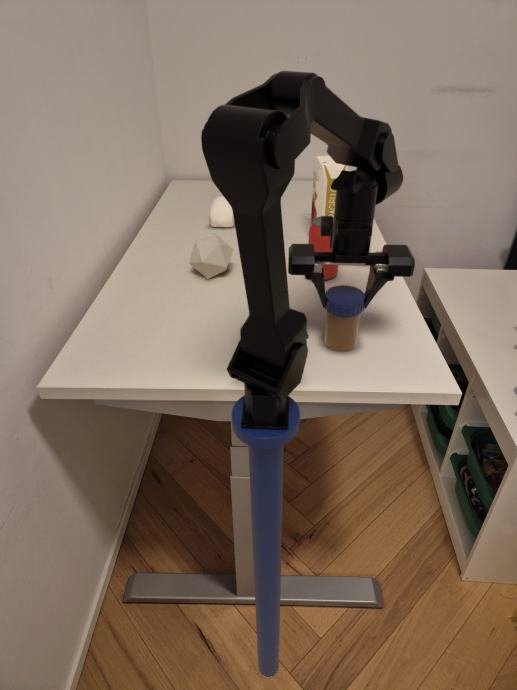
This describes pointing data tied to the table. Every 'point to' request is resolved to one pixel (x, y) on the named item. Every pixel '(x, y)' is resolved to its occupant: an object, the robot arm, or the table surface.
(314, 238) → the beer can
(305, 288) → the table surface
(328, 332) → the jar
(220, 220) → the computer mouse
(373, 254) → the robot arm
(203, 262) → the die
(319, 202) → the juice carton
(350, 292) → the lid
